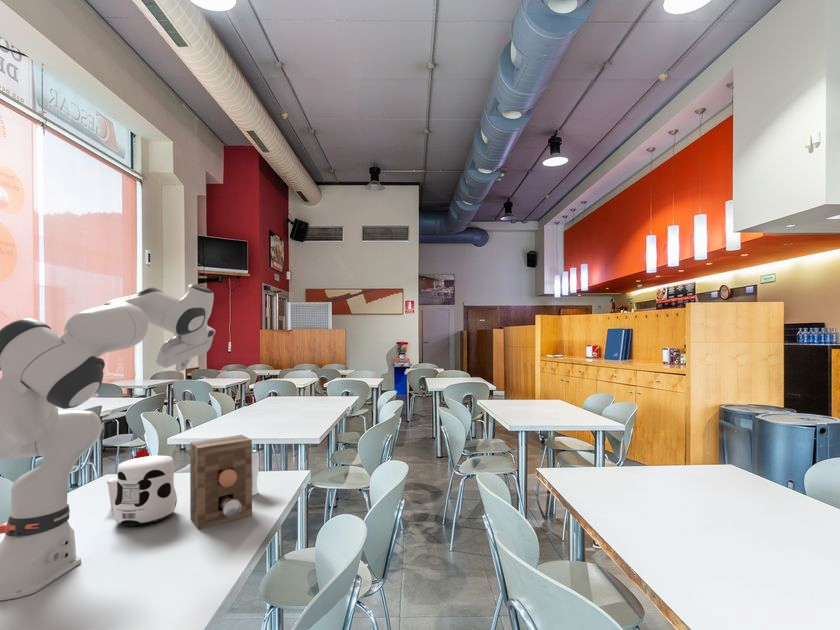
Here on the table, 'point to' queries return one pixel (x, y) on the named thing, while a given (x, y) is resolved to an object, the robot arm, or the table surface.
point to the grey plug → (230, 506)
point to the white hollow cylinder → (255, 471)
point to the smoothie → (112, 490)
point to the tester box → (205, 481)
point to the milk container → (145, 490)
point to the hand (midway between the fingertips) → (180, 369)
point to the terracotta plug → (227, 477)
